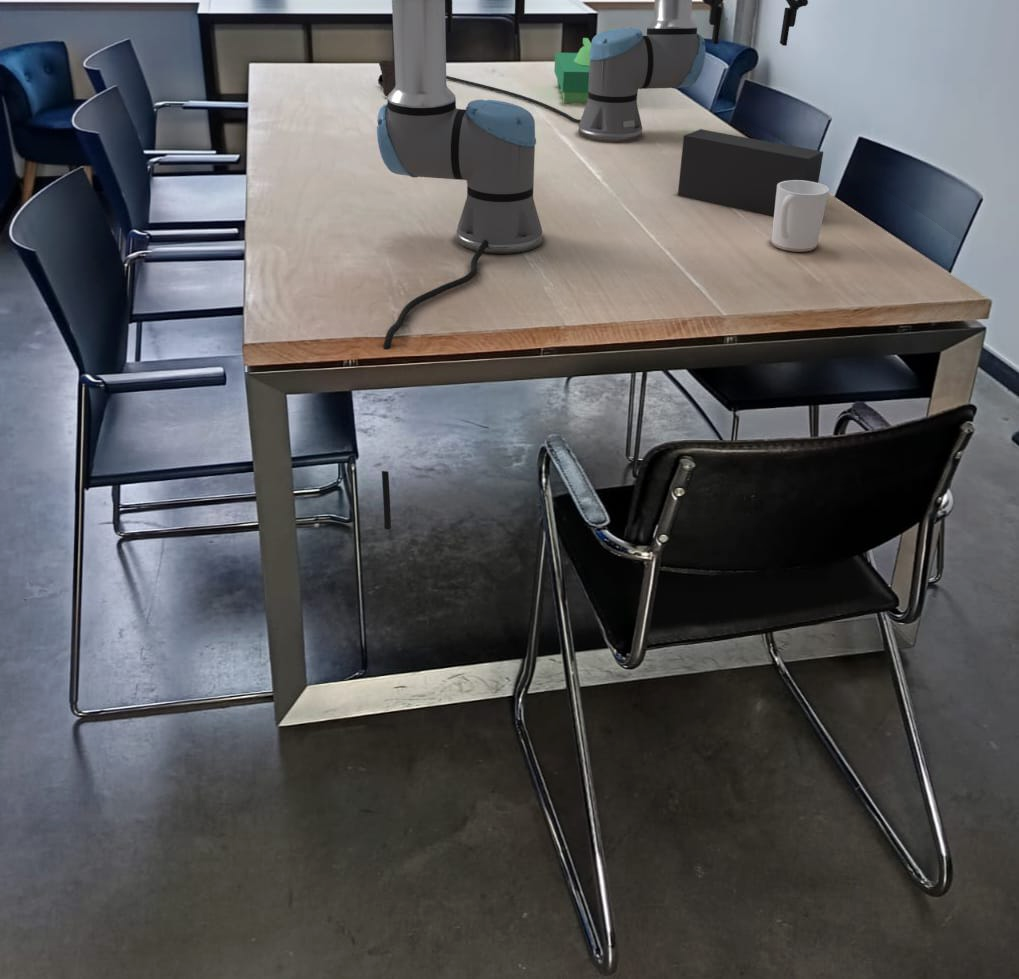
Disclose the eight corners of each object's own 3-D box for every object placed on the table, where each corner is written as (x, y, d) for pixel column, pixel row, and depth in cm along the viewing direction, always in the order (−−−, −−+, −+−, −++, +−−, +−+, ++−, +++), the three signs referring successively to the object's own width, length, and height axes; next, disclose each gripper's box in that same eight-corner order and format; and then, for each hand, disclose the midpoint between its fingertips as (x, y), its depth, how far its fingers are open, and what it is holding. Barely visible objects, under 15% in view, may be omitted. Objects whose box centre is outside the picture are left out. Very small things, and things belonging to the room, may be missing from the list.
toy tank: (615, 34, 312) (632, 57, 283) (611, 79, 319) (628, 107, 289) (553, 33, 311) (564, 56, 282) (551, 78, 318) (562, 105, 288)
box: (813, 213, 213) (823, 151, 207) (798, 221, 209) (808, 158, 202) (694, 187, 227) (700, 129, 220) (677, 195, 222) (683, 135, 216)
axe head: (443, 87, 294) (392, 77, 287) (436, 115, 299) (385, 106, 292) (421, 62, 307) (371, 52, 300) (414, 89, 311) (365, 80, 304)
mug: (783, 233, 202) (791, 177, 197) (827, 243, 197) (837, 187, 192) (754, 247, 195) (762, 190, 189) (799, 259, 190) (809, 200, 185)
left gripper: (548, -85, 215) (544, 31, 226) (422, -88, 216) (424, 27, 227) (547, -82, 209) (543, 37, 220) (417, -86, 209) (420, 33, 220)
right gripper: (702, -77, 201) (689, 45, 213) (836, -74, 202) (816, 48, 213) (695, -81, 208) (683, 38, 219) (826, -78, 208) (807, 41, 220)
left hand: (483, 32), depth 223 cm, fingers open, 13 cm apart
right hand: (748, 43), depth 216 cm, fingers open, 13 cm apart
